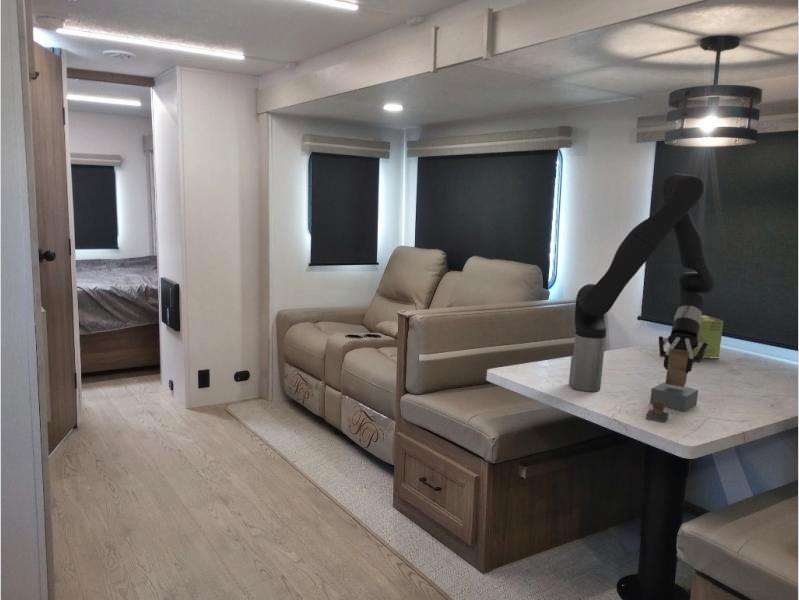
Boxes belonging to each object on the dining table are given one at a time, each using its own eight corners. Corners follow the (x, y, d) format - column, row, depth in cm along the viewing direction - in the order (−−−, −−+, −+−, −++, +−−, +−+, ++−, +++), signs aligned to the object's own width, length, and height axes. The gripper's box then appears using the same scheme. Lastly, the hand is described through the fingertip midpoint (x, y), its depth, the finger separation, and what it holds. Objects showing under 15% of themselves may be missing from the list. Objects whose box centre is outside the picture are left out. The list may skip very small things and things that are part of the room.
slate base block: (662, 397, 193) (664, 382, 192) (696, 405, 186) (698, 389, 185) (649, 404, 186) (651, 388, 185) (684, 413, 179) (686, 396, 178)
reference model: (649, 413, 176) (651, 397, 175) (668, 417, 173) (670, 400, 173) (646, 418, 172) (647, 401, 171) (665, 422, 169) (667, 405, 168)
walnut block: (668, 380, 188) (671, 348, 186) (685, 383, 186) (689, 350, 184) (665, 383, 184) (669, 351, 182) (683, 387, 181) (687, 354, 180)
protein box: (719, 358, 244) (724, 320, 242) (685, 359, 241) (690, 320, 238) (700, 352, 254) (705, 315, 252) (668, 352, 251) (672, 315, 248)
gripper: (661, 313, 191) (650, 359, 183) (712, 319, 184) (703, 367, 176) (662, 327, 197) (651, 372, 189) (712, 334, 189) (703, 381, 181)
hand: (676, 369), depth 182 cm, fingers closed on walnut block, 5 cm apart
